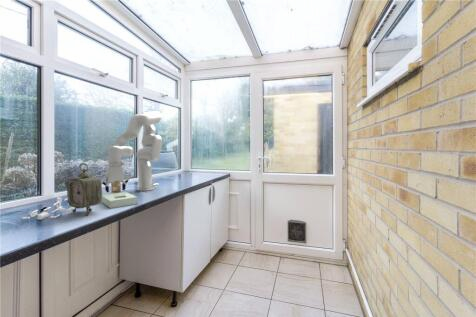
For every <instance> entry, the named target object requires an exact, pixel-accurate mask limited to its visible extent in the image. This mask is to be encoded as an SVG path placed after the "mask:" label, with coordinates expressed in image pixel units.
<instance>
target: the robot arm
mask: <svg viewBox="0 0 476 317" xmlns="http://www.w3.org/2000/svg"><path fill="white" fill-rule="evenodd" d="M161 120H162V114H161V113H160V112H159V111H154V110H153V111H144V112H140V113H138V114H137V113H136V114H133V115H132V116H131V119H130V121H129V123H128V125H127V127H126V129H125V131H124V132H123V133H122V134H120V135H119V136H117V138H116V139H115V141H114V143H113V145H110V146H108V148H107V151H108V152H107V154H108V156H107V157H108V160H107V161H108V163H107V164H108V167H106V171H105V172H106V174H105V176H104V177H102V178H101V179H100V180H101V185H104V186H105V187H104V190H105V192H106V193H109V192H110V186H109V185H110V184H111V183H113V181H120V183H122V185H121V186H122V187H121V189H122V190H121V191H123V192H126V185H127V183H128V182H129V180H130V179H131V177H130V176H127V175H125V171H124V167H123V166H124V165H125V163H124V162H123V161H122V158H123V157H124V158H127V157H131V156H133V154H134V152H135V150H134V148H133V147H132V146H129V145H126V143H128V142H130V141H131V140H134V139H136V138H137V137H138V136H139V134H140V132H141V129H142V127H143V133H142V139H141V146H143V148H139V149H138V150H137V152H136V159H137V167H138V168H137V169H138V171H137V172H138V175H137V176H138V187H136V191H137V192H138V191H139V192H145V191H146V192H147V191H153V190H155V187H159V183H153V168H152V164H151V162H157V161H159V159H160V157H161V153H162V150H163V149H162V148H163V138H162V136H160V134H156V132H157V131H156V126H155V124H158V123H160V122H161ZM105 181H106V182H105Z"/></svg>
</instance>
